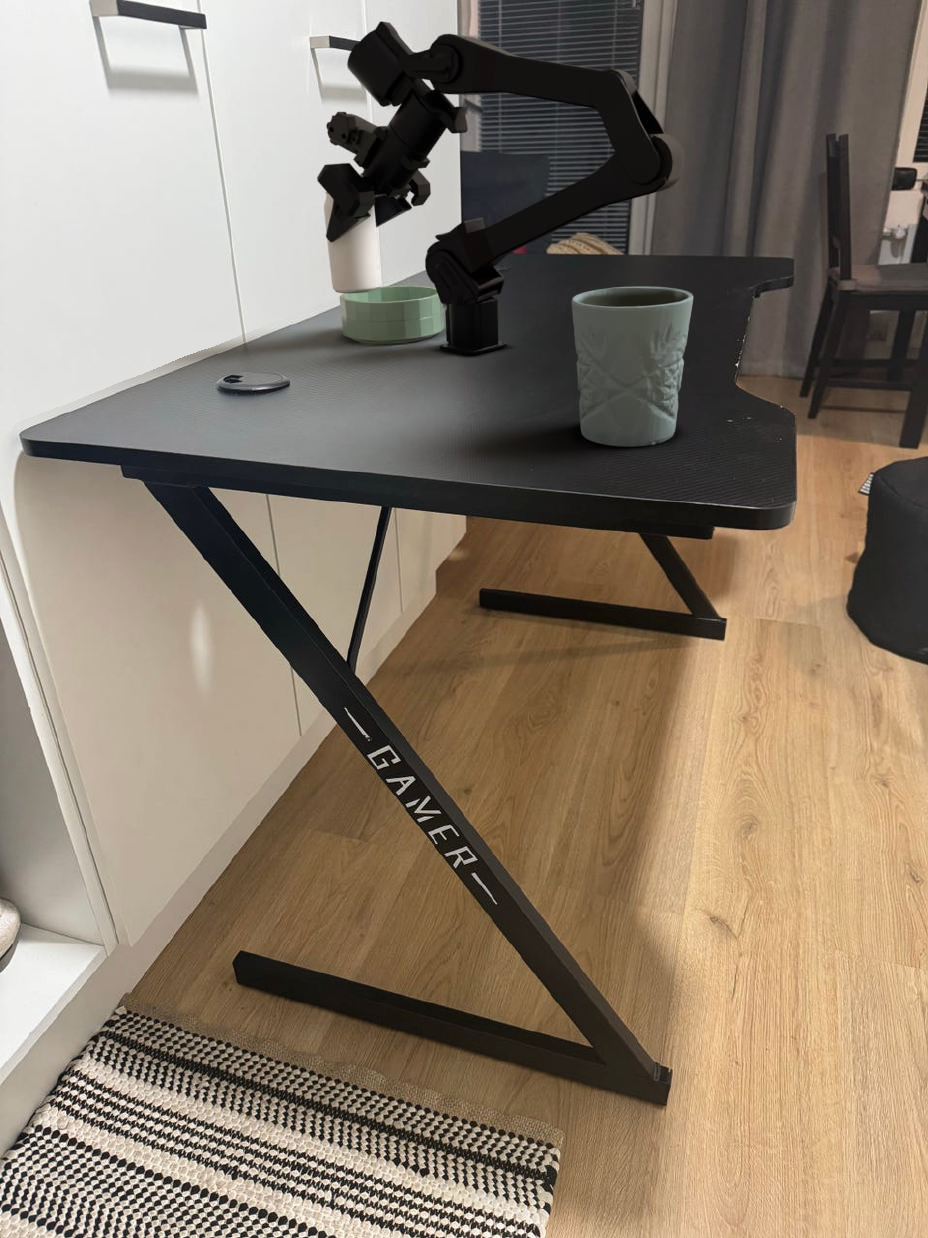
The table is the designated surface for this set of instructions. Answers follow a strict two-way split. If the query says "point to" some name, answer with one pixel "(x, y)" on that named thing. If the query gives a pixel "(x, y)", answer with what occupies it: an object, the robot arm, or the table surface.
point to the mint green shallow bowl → (392, 314)
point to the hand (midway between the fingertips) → (343, 236)
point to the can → (354, 256)
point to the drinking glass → (630, 362)
